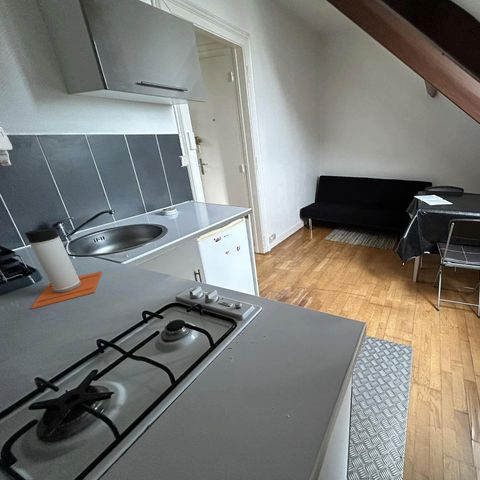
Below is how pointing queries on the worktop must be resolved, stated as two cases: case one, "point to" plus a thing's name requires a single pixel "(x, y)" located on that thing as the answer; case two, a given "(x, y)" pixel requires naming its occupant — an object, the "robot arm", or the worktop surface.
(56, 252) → the travel mug
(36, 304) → the drying mat
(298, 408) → the worktop surface
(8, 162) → the robot arm
